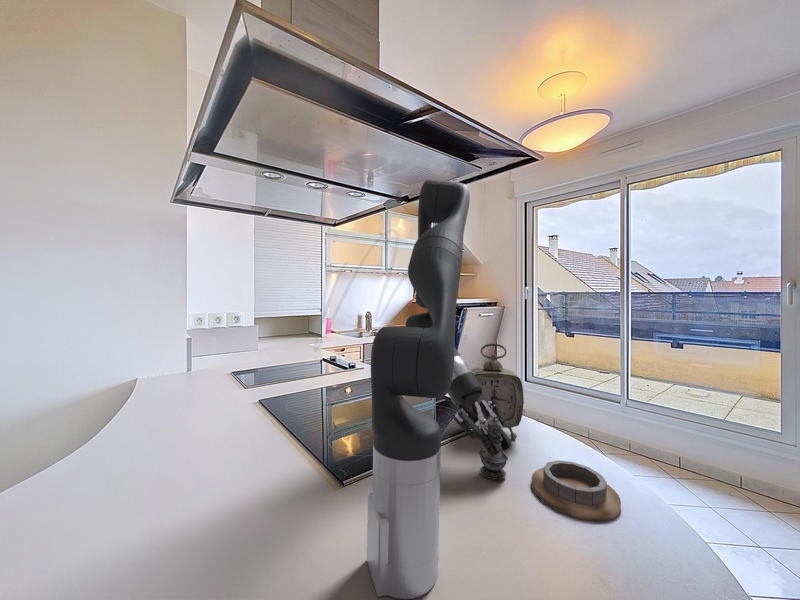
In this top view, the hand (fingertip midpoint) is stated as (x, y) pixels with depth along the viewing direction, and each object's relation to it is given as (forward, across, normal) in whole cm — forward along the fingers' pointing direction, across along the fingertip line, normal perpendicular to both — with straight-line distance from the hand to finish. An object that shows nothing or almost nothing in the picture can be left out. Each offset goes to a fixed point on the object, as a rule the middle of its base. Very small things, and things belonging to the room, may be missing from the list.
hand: (502, 451), depth 66 cm
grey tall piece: (+2, 0, +5) cm, 6 cm away
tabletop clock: (-6, +18, +15) cm, 24 cm away
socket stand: (+12, +7, -4) cm, 15 cm away
